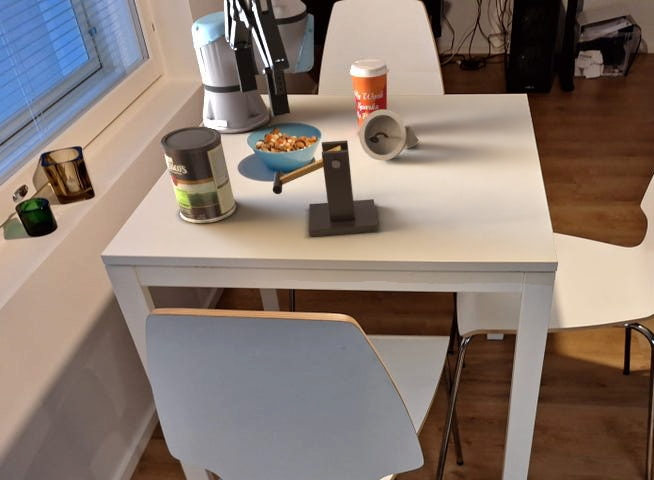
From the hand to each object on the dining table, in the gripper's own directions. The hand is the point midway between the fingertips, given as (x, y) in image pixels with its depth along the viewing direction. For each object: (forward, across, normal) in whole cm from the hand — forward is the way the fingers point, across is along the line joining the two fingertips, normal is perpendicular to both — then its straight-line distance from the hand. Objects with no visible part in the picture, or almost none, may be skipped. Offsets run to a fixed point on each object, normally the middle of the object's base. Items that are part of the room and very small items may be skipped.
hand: (264, 102), depth 108 cm
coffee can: (+22, -12, -10) cm, 27 cm away
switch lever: (+12, +4, +5) cm, 14 cm away
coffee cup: (+22, -27, +33) cm, 48 cm away
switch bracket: (+21, +6, +9) cm, 24 cm away
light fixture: (+22, -14, +30) cm, 39 cm away
